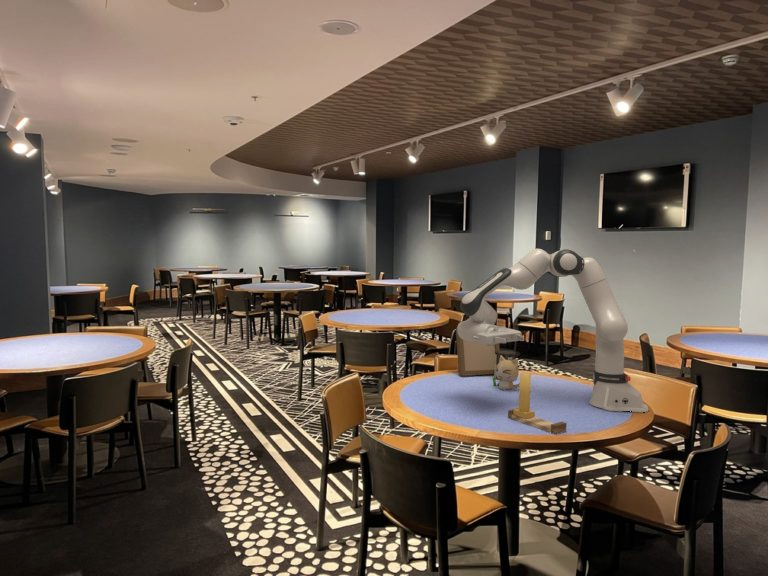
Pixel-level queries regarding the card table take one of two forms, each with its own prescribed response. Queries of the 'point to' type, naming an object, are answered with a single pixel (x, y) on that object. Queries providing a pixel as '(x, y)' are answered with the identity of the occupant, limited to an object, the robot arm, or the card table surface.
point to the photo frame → (475, 357)
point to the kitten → (506, 373)
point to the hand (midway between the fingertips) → (514, 339)
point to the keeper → (524, 397)
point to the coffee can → (506, 355)
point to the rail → (539, 423)
